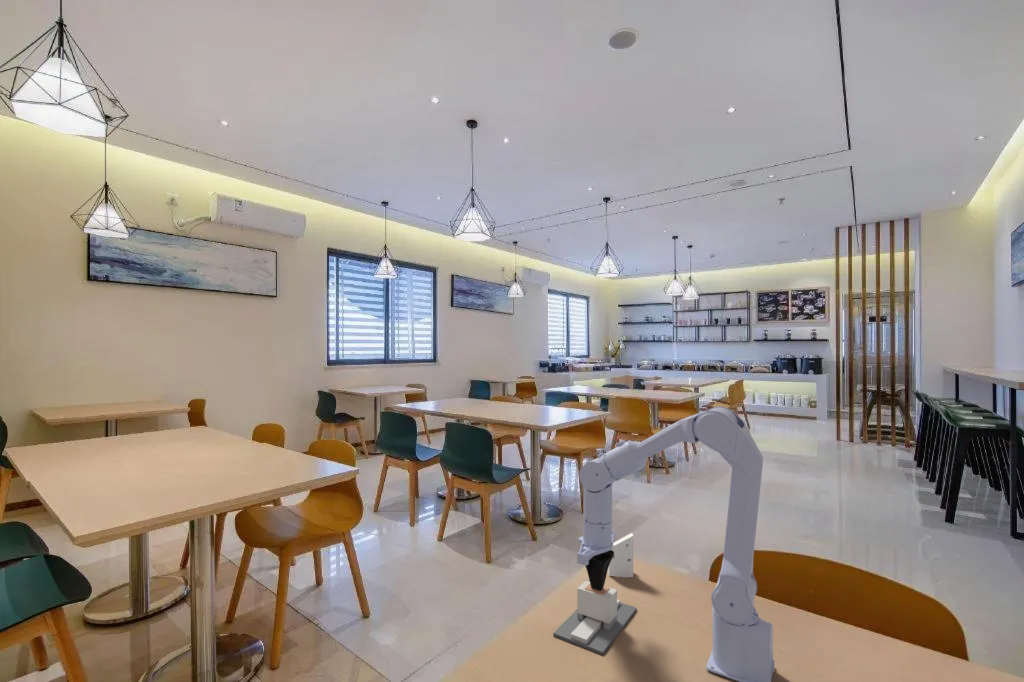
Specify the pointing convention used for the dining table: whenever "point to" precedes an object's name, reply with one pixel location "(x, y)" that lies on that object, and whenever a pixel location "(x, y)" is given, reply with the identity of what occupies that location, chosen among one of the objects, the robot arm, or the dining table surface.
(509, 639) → the dining table surface
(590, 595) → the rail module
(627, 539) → the white angled block
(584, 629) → the din rail
